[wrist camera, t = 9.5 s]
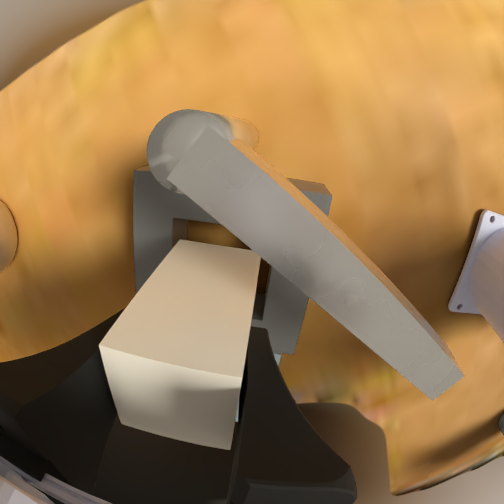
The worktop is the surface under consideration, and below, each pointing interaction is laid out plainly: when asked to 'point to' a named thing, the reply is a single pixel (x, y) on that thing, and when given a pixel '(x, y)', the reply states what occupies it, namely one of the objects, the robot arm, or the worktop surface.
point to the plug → (185, 344)
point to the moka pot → (501, 424)
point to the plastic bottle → (7, 237)
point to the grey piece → (296, 239)
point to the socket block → (184, 208)
